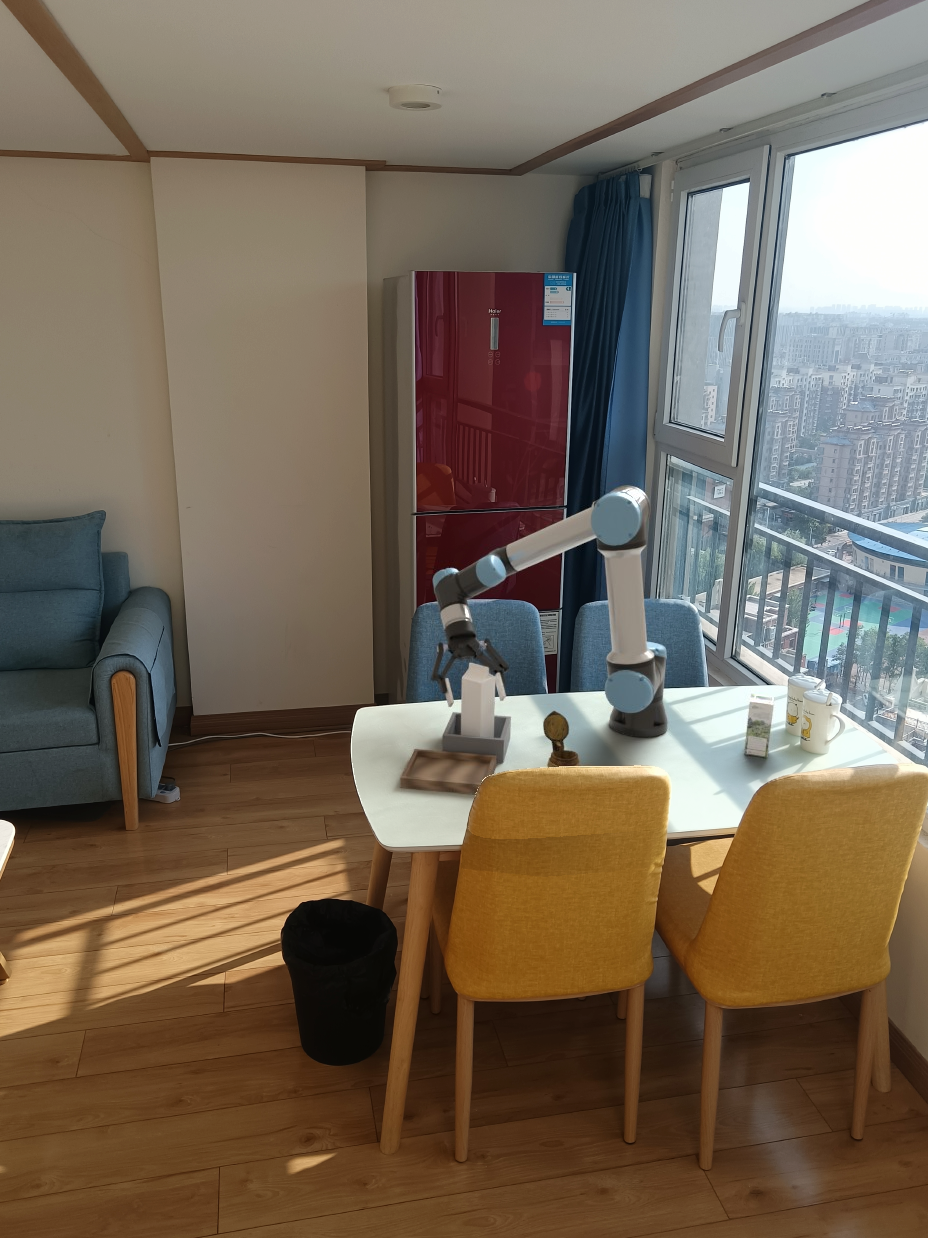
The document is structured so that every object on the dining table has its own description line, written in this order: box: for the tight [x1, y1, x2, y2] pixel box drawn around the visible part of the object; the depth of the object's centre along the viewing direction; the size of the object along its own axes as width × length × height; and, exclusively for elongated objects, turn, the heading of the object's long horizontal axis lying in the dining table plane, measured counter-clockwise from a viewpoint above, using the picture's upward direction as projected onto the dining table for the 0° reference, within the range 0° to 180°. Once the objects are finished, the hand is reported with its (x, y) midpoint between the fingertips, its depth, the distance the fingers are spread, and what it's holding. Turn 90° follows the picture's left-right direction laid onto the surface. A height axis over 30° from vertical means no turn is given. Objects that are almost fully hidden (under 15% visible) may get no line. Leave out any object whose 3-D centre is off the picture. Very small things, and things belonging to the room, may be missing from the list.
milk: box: [460, 662, 496, 738], centre depth 241 cm, size 6×6×22 cm
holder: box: [441, 711, 512, 764], centre depth 243 cm, size 15×15×6 cm
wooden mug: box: [542, 710, 581, 768], centre depth 217 cm, size 9×14×18 cm, turn 13°
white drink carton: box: [743, 693, 775, 758], centre depth 242 cm, size 6×6×14 cm
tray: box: [399, 748, 497, 795], centre depth 228 cm, size 20×16×2 cm
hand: (477, 701), depth 240 cm, fingers open, 13 cm apart
